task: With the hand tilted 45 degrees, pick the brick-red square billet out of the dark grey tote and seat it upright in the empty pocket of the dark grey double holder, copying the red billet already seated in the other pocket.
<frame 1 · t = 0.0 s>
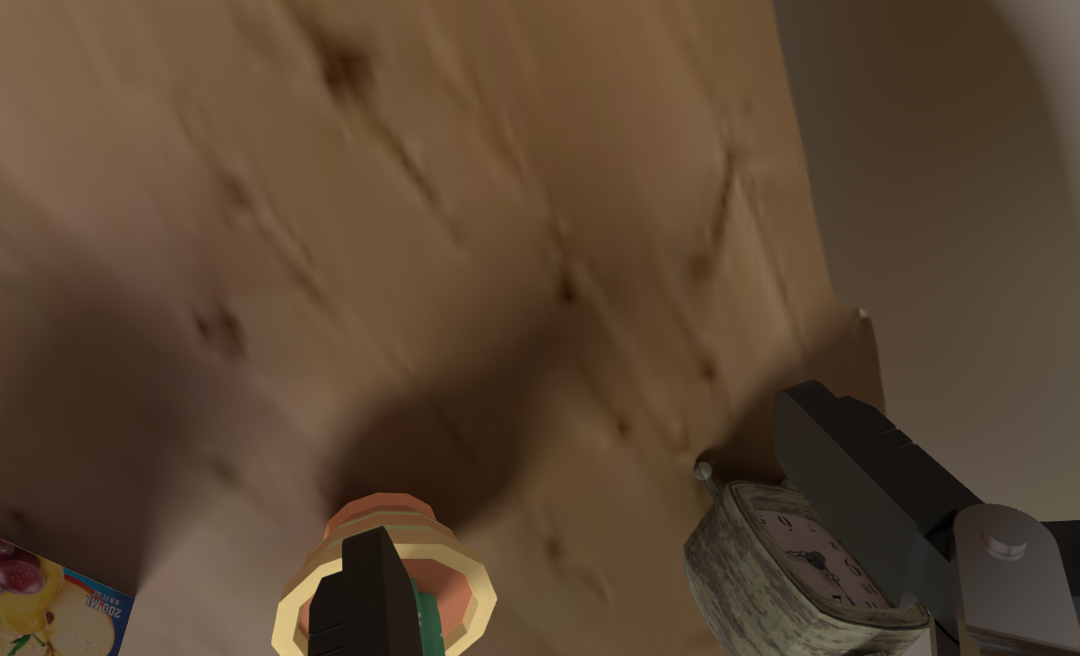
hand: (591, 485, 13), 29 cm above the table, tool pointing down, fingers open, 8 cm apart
potted cactus: (381, 532, 52), on the table
juice carton: (22, 591, 46), on the table
tabletop clock: (725, 492, 61), on the table
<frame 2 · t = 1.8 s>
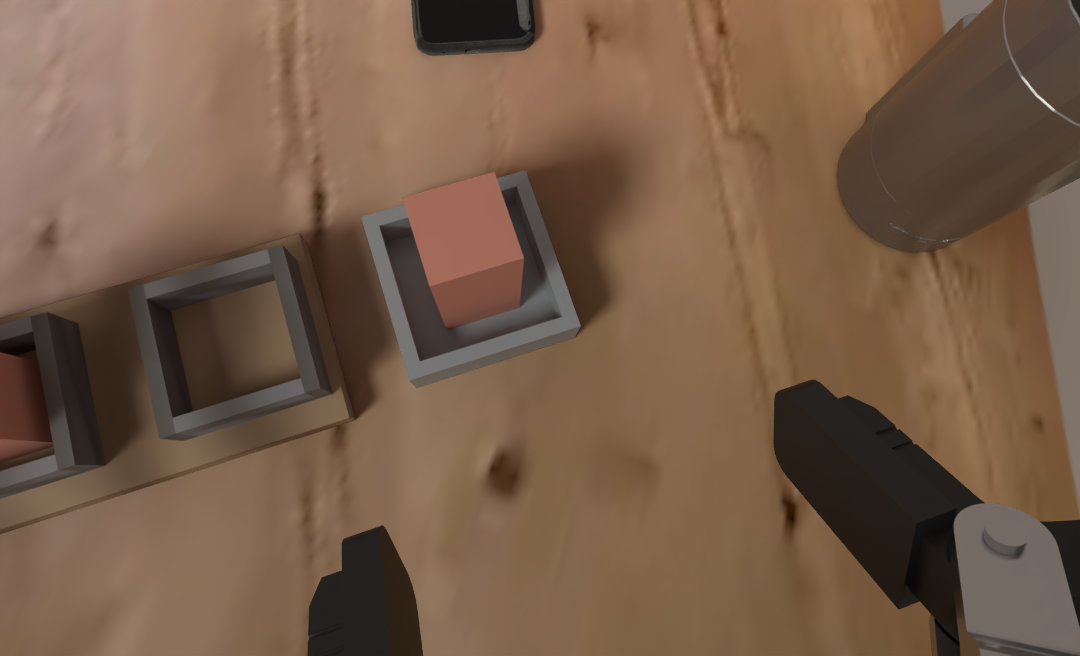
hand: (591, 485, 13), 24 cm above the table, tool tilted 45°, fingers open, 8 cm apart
dark grey double holder: (145, 384, 36), on the table
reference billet: (13, 416, 34), point 1 cm above the table, touching dark grey double holder
tote: (472, 286, 39), on the table
billet: (472, 284, 38), resting on tote
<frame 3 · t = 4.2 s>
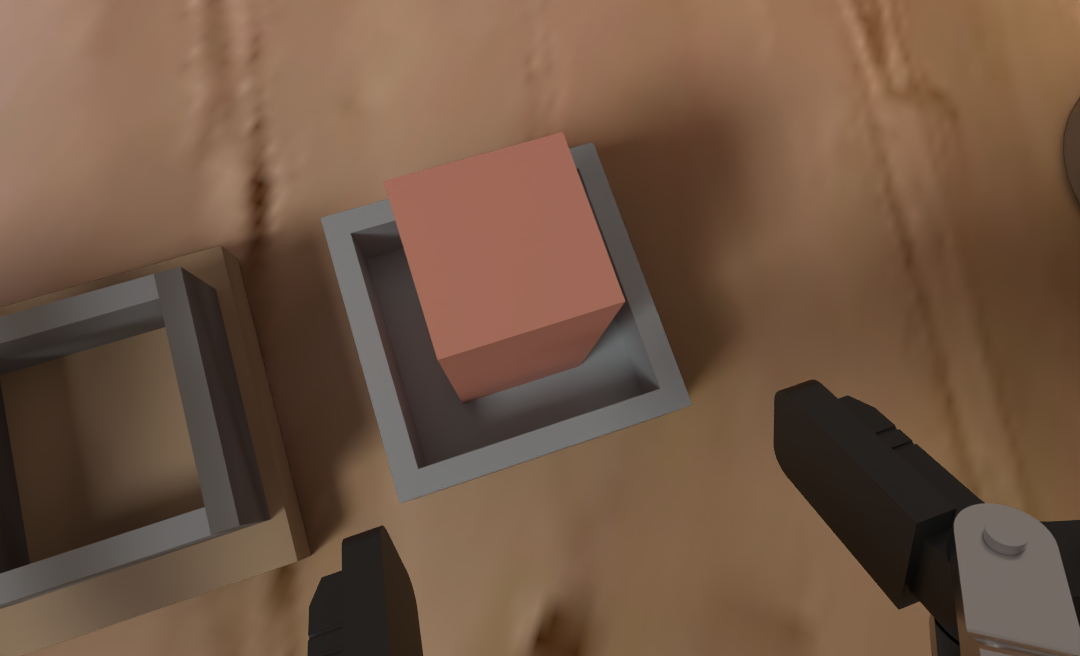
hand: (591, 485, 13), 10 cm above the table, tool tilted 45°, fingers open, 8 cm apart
tote: (503, 329, 24), on the table
billet: (503, 327, 24), resting on tote
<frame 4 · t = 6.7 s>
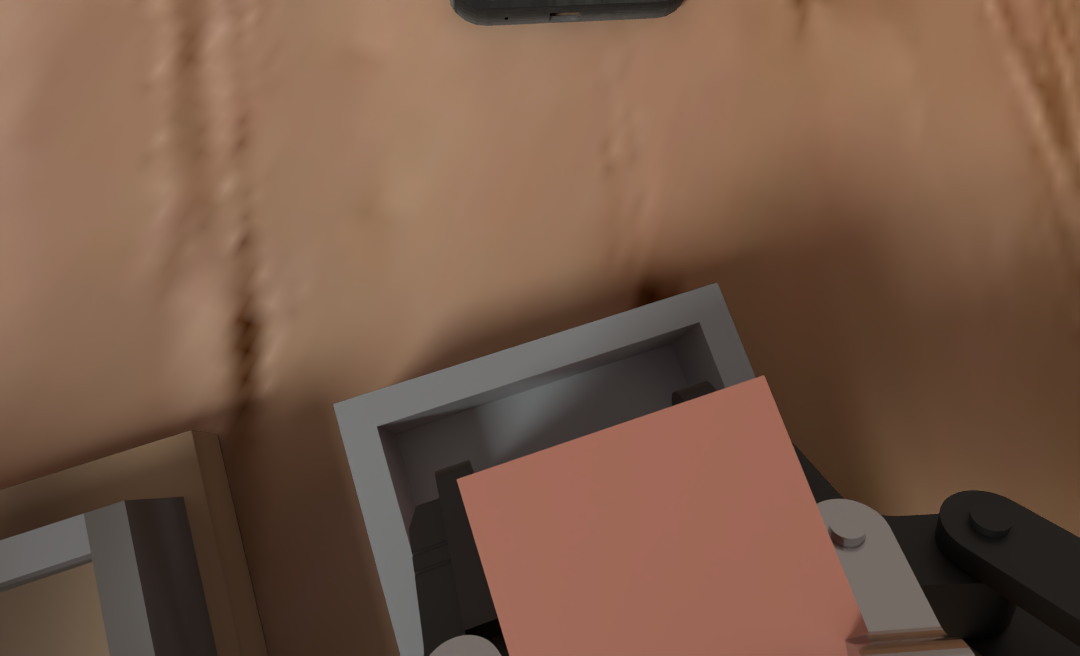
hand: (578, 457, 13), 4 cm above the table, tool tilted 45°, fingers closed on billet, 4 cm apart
tote: (583, 530, 17), on the table
billet: (585, 531, 17), resting on tote, touching gripper
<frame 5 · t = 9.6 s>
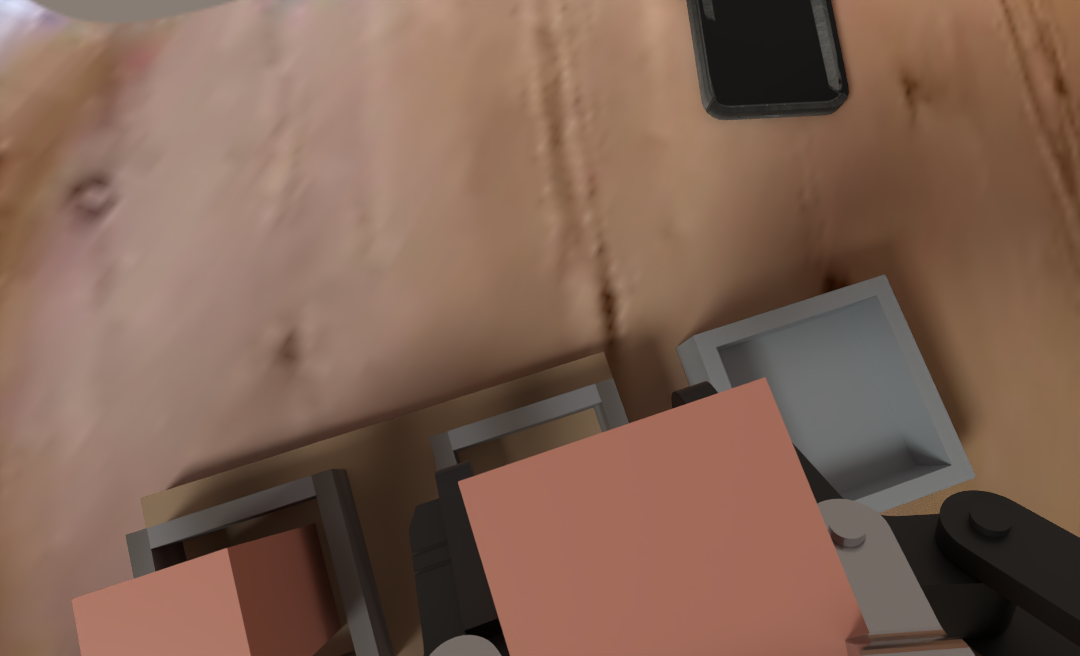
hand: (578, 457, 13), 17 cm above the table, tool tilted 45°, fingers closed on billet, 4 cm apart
dark grey double holder: (420, 541, 29), on the table
phone: (749, 3, 37), on the table
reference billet: (276, 592, 27), point 1 cm above the table, touching dark grey double holder
tote: (802, 411, 31), on the table
billet: (586, 532, 17), point 13 cm above the table, touching gripper
when the fingers open (7 cm above the table, at t = 12.6 s): billet stays where it is, resting on dark grey double holder.
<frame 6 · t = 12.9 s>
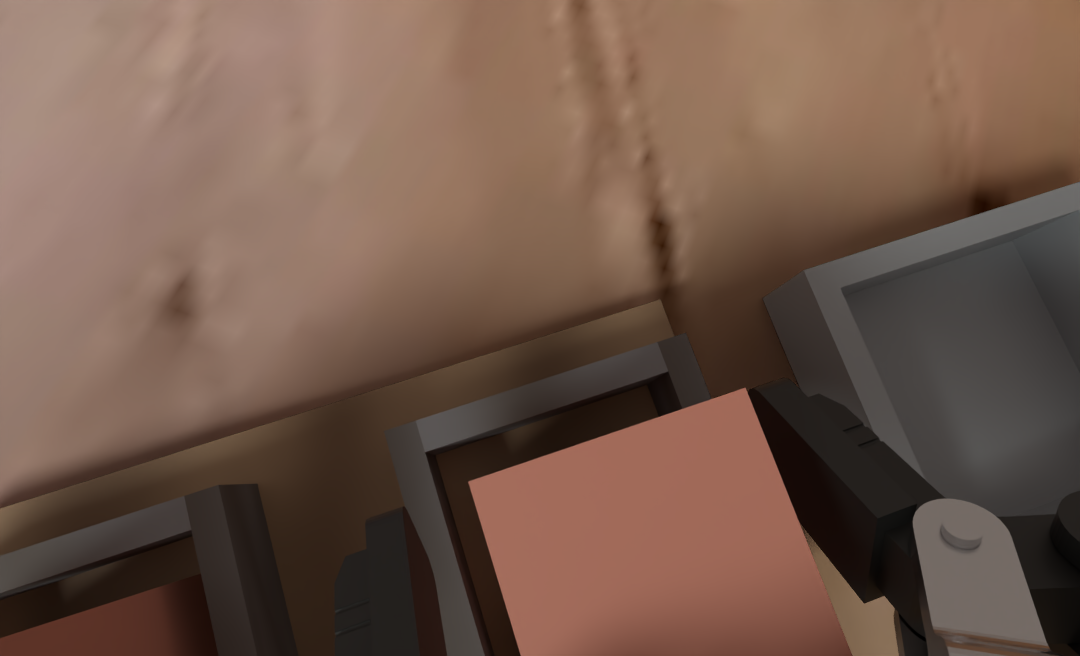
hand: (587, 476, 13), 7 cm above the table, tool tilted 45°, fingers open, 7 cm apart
dark grey double holder: (378, 595, 19), on the table
tote: (953, 391, 21), on the table
billet: (584, 530, 18), point 1 cm above the table, touching dark grey double holder
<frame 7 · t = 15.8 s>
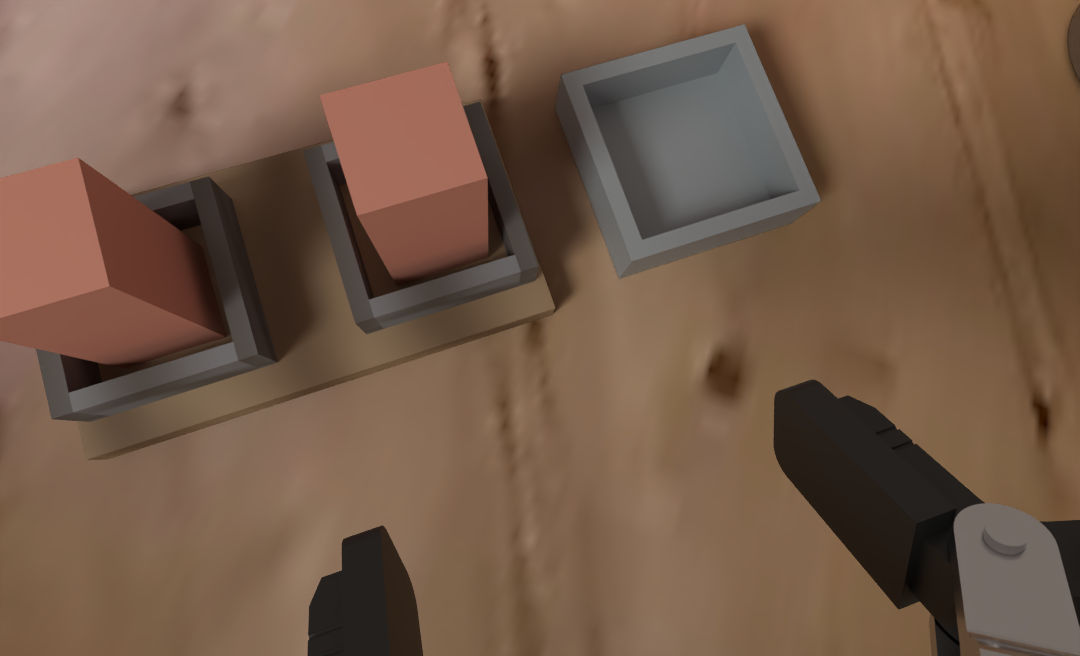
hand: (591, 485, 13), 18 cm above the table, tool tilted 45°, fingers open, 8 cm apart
dark grey double holder: (307, 274, 31), on the table
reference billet: (163, 305, 29), point 1 cm above the table, touching dark grey double holder
tote: (673, 165, 33), on the table
billet: (428, 228, 30), point 1 cm above the table, touching dark grey double holder
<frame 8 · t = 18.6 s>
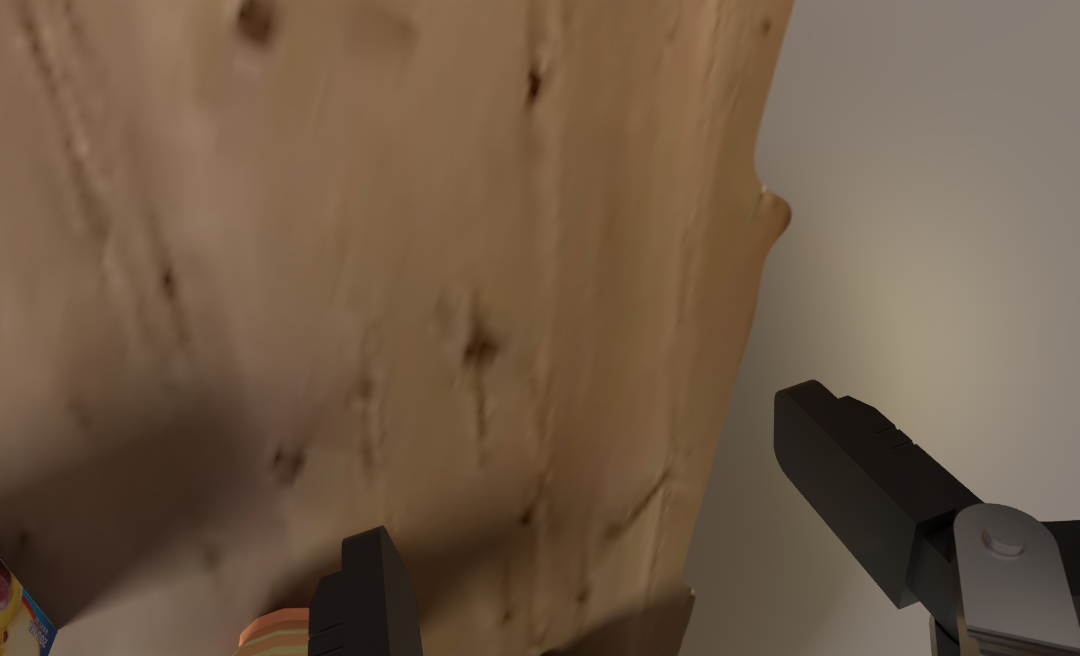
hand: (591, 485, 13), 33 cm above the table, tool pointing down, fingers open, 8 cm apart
potted cactus: (290, 637, 61), on the table
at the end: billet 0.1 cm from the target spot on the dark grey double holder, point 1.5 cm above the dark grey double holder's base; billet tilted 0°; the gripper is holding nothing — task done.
